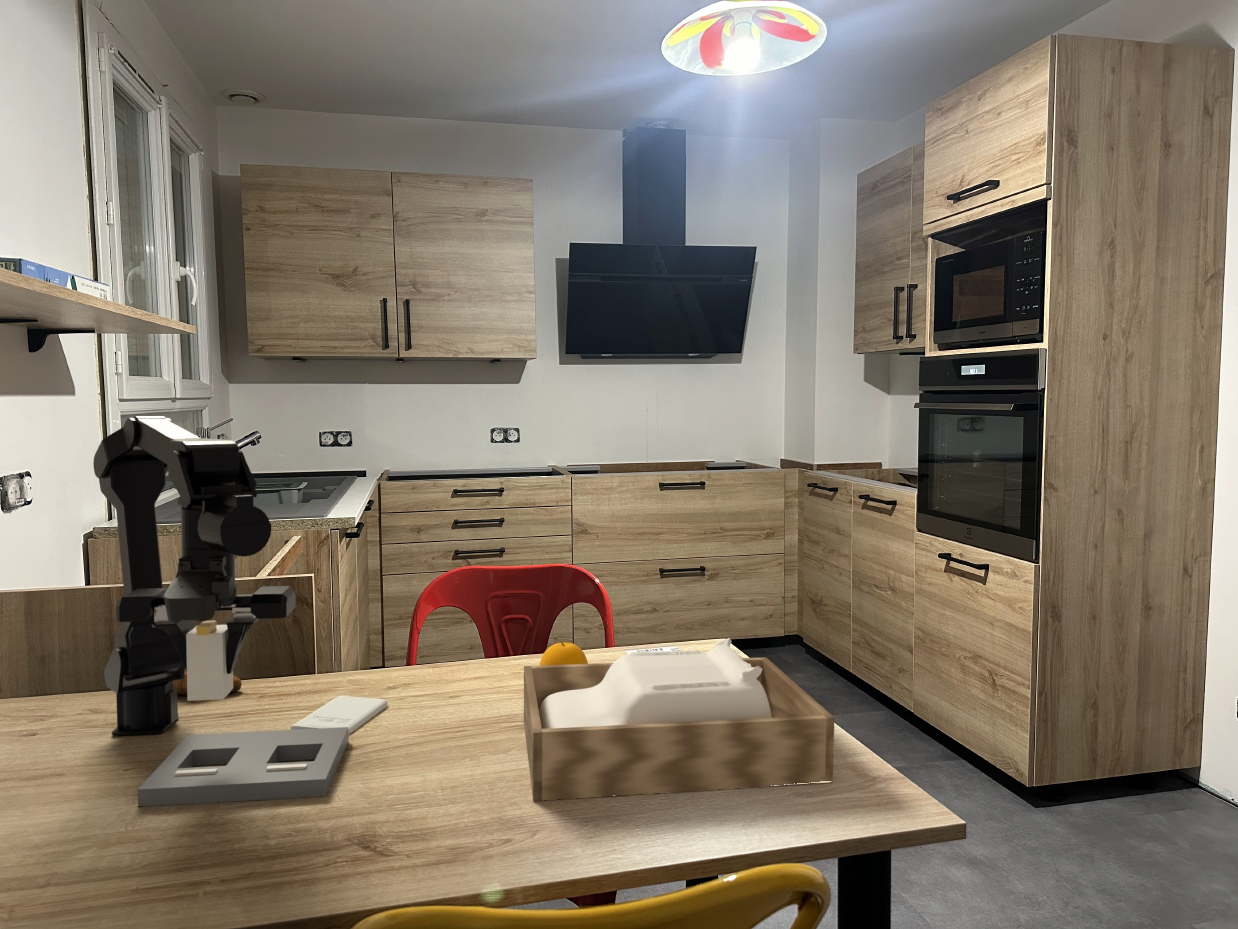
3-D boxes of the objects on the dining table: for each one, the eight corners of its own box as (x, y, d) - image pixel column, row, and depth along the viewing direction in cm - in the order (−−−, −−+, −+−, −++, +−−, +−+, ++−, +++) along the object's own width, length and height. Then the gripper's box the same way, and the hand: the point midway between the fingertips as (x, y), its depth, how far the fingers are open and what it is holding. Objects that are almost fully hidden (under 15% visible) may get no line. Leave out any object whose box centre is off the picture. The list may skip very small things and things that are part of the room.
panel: (138, 807, 93) (137, 786, 93) (188, 749, 109) (188, 732, 108) (325, 796, 96) (325, 776, 96) (348, 741, 112) (348, 724, 112)
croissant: (140, 701, 127) (140, 669, 126) (162, 686, 133) (161, 656, 133) (232, 700, 127) (231, 668, 127) (249, 686, 134) (248, 655, 134)
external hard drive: (387, 710, 126) (344, 741, 113) (337, 705, 127) (290, 736, 115) (387, 699, 125) (344, 729, 113) (337, 695, 127) (290, 724, 115)
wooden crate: (533, 801, 95) (533, 732, 95) (523, 721, 120) (523, 666, 119) (832, 782, 101) (834, 717, 100) (764, 709, 125) (766, 657, 125)
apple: (587, 697, 130) (587, 650, 130) (536, 696, 130) (536, 649, 130) (589, 681, 138) (590, 636, 138) (542, 680, 138) (542, 635, 138)
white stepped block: (787, 780, 102) (789, 672, 101) (541, 796, 97) (541, 682, 96) (739, 722, 121) (741, 631, 120) (531, 733, 116) (531, 638, 115)
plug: (185, 702, 98) (184, 627, 98) (198, 689, 103) (197, 617, 102) (221, 701, 99) (220, 626, 98) (233, 688, 103) (232, 616, 103)
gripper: (92, 558, 90) (96, 700, 91) (274, 556, 94) (276, 693, 95) (134, 542, 101) (137, 668, 102) (296, 540, 104) (297, 663, 106)
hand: (210, 673), depth 101 cm, fingers closed on plug, 4 cm apart
